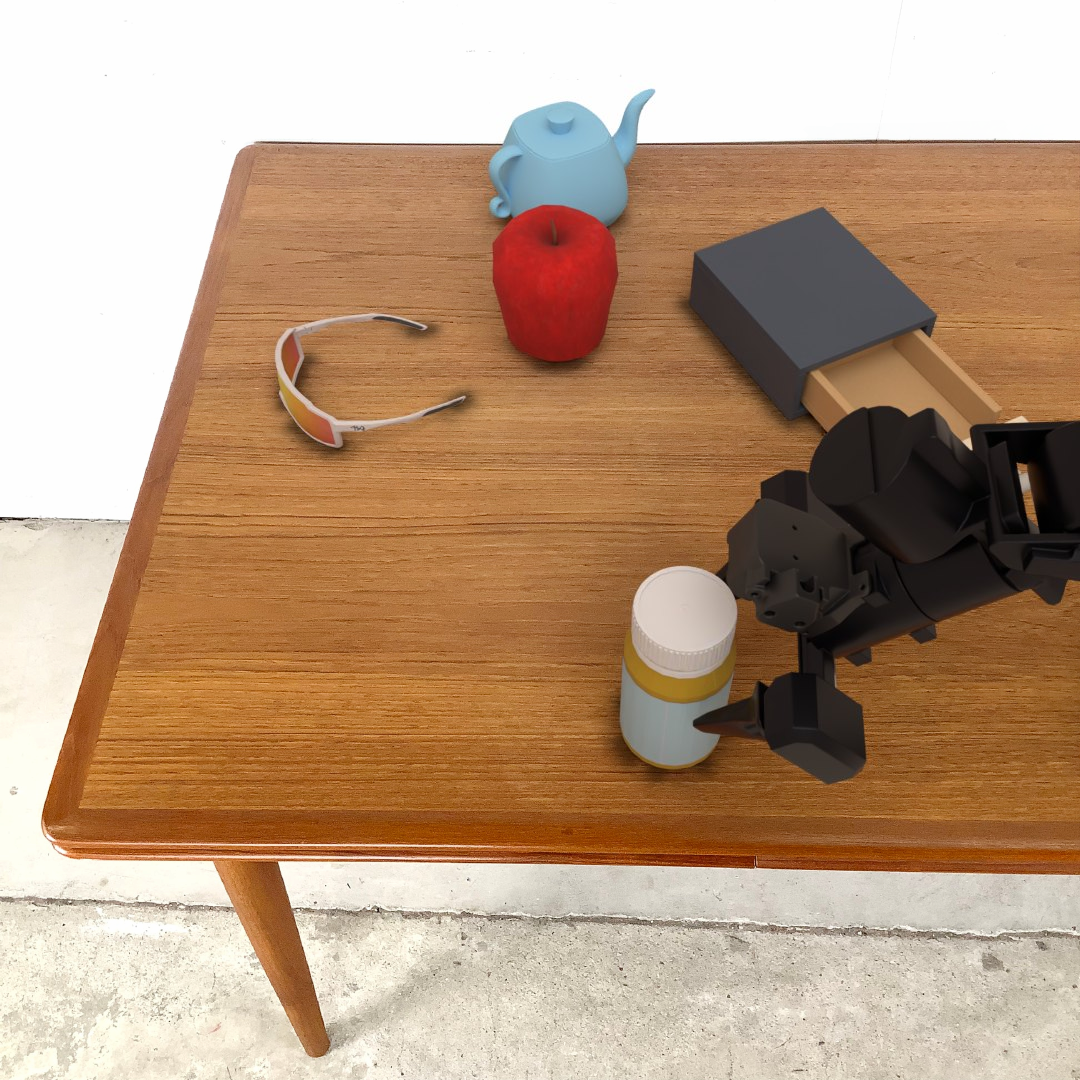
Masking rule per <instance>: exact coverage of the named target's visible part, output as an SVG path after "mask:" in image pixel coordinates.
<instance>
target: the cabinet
mask: <svg viewBox="0 0 1080 1080" xmlns="http://www.w3.org/2000/svg"><path fill="white" fill-rule="evenodd" d="M691 271H692V272H691V281H690V293H689V301H688V305H689V306H690V307H691V308H692V310H693V311H694V312H695V313H696V314H697V316H698V317H699V318H700V319H701V320H702V321H703V322H704V324H705V325H706V326H707V327H708V329H709V330H710V331H711V332H712V333H713V335H715V337H716V338H717V339H718V340H719V341H720V343H721V344H722V345H723V346H724V347H725V349H726V350H728V352H729V353H730V354H731V355H732V356H733V358H734V359H735V360H736V361H737V362H738V364H740V366H741V367H742V369H744V370H745V371H746V373H747V374H748V375H749V376H750V377H751V378H752V380H753V381H754V382H755V383H756V384H757V385H758V387H759V388H760V389H761V390H762V391H763V393H764V394H765V395H766V396H767V397H768V398H769V399H770V401H771V402H772V403H773V404H774V406H775V407H776V408H777V410H779V412H781V414H783V416H784V417H785V418H786V419H787V421H789V422H790V421H793V420H795V419H797V418H801V417H802V416H805V415H807V414H809V413H810V412H809V411H808V410H807V408H806V407H805V406H804V405H803V404H802V403H801V402H800V400H801V396H802V391H803V386H804V382H805V377H806V373H807V372H809V371H812V370H815V369H817V368H820V367H822V366H825V365H827V364H830V363H832V362H835V361H838V360H840V359H843V358H845V357H848V356H850V355H853V354H855V353H858V352H860V351H863V350H866V349H868V348H871V347H873V346H876V345H878V344H881V343H883V342H886V341H888V340H891V339H894V338H896V337H899V336H901V335H904V334H906V333H909V332H911V331H914V330H916V329H919V328H920V329H921V330H922V331H923V332H924V333H925V334H926V335H927V336H928V337H929V338H930V339H931V338H932V334H933V331H934V328H935V325H936V321H937V318H938V314H937V313H936V312H935V311H934V310H933V309H932V308H931V307H929V305H928V304H926V302H924V300H922V299H921V298H920V297H919V296H918V294H916V293H914V291H913V290H911V288H910V287H908V286H907V285H906V284H905V283H904V282H903V281H902V279H900V278H899V277H898V276H897V275H896V274H895V273H894V272H892V270H891V269H889V267H887V265H885V264H884V263H883V262H882V261H881V260H880V259H879V258H878V257H876V255H875V254H874V253H872V252H871V250H869V249H868V247H866V246H865V245H864V244H863V243H862V242H861V241H860V240H859V239H858V238H857V237H855V235H854V234H852V233H851V232H850V231H849V230H848V229H847V228H846V227H845V226H844V225H843V224H842V223H841V222H840V221H839V220H838V219H837V218H835V216H833V214H832V213H830V211H829V210H827V209H826V208H825V207H824V206H821V207H817V208H815V209H812V210H809V211H806V212H803V213H801V214H798V215H794V216H793V217H789V218H787V219H783V220H781V221H778V222H775V223H773V224H772V223H771V224H769V225H767V226H764V227H760V228H758V229H755V230H752V231H749V232H746V233H743V234H741V235H738V236H735V237H733V238H730V239H726V240H724V241H721V242H718V243H716V244H713V245H709V246H707V247H703V248H701V249H698V250H696V251H694V252H693V261H692V270H691ZM810 414H811V413H810Z"/></svg>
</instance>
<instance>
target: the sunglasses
mask: <svg viewBox="0 0 1080 1080" xmlns="http://www.w3.org/2000/svg"><path fill="white" fill-rule="evenodd" d="M369 321H370V322H371V321H380V322H388V323H394V324H399V325H403V326H406V327H410V328H412V329H416V330H419V331H425V330H427V329H428V326H427V325H425V324H423V323H420V322H417V321H414V320H411V319H408V318H404V317H401V316H397V315H391V314H386V313H376V312H372V313H363V314H353V315H344V316H337V317H331V318H324V319H319V320H316V321H315V320H314V321H312V322H308V323H305V324H302V325H301V324H300V325H298V326H293V327H289V328H287V329H286V331H284V332H283V334H282V335H281V336H280V337H279V339H278V340H277V343H276V346H275V351H274V362H275V367H276V374H277V375H276V376H277V381H278V385H279V391H278V393H279V397H280V400H281V401H282V403H283V406H284V407H285V409H286V410H287V412H288V414H289V415H290V417H291V418H292V419H293V421H294V422H295V424H296V425H297V426H298V427H299V428H300V429H301V430H302V431H303V432H304V433H305V434H306V435H307V436H308V437H310V438H311V439H313V440H315V441H316V442H318V443H321V444H323V445H325V446H327V447H331V448H336V449H339V448H341V447H342V446H344V441H343V436H342V433H344V432H357V433H363V432H365V431H369V430H372V429H377V428H382V427H387V426H393V425H399V424H400V425H401V424H408V423H412V422H414V421H417V420H419V419H422V418H425V417H428V416H430V415H435V414H436V413H440V412H442V411H444V410H448V409H450V408H453V407H455V406H457V405H459V404H462V403H463V402H464V401H465V399H466V398H467V396H466V395H463V396H459V397H456V398H454V399H452V400H449V401H446V402H443V403H441V404H438V405H435V406H431V407H429V408H425V409H422V410H419V411H416V412H413V413H411V414H408V415H403V416H399V417H393V418H388V419H377V420H343V419H337V418H336V417H335V416H332V415H330V413H329V414H328V413H327V412H325V411H323V410H321V409H319V408H318V407H317V406H314V404H313V403H312V401H310V399H308V398H307V397H306V396H304V395H303V394H302V393H301V392H300V391H299V390H298V388H297V387H295V385H296V384H295V383H296V380H297V377H298V374H299V371H300V369H301V367H302V364H303V362H304V360H305V354H304V350H303V347H302V345H301V340H300V338H301V337H304V336H306V335H310V334H314V333H317V332H319V331H320V330H322V329H325V328H327V327H330V326H333V325H336V324H342V323H363V322H369Z"/></svg>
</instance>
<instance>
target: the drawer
mask: <svg viewBox="0 0 1080 1080" xmlns="http://www.w3.org/2000/svg"><path fill="white" fill-rule="evenodd" d="M800 402H801V403H802V404H803V405H804V406H805V407H806V408H807V410H808V411H809V412H810V415H811V416H813V418H814V419H815V420H816V421H817V422H818V424H820V426H821V427H823V429H824V430H825V431H826V432H827V433H828V431H829V430H830V429H831V428H832V427H833V426H834V425H835V424H836V423H838V422H839V421H840V420H841V419H842V418H844V417H845V416H847V415H848V414H850V413H851V412H853V411H855V410H857V409H859V408H861V407H866V408H871V407H875V406H892V407H895V408H898V409H900V410H901V411H903V412H904V413H905V414H906V415H907V416H908V417H910V416H912V415H914V414H916V413H918V412H920V411H922V410H924V409H926V408H934V409H935V410H936V411H937V412H938V413H939V414H940V415H941V416H942V417H943V418H944V419H945V420H946V421H947V423H948V425H949V427H950V429H951V431H952V432H953V433H954V434H955V435H956V436H957V437H958V438H959V439H960V440H961V441H962V442H963V443H964V444H965V445H966V446H967V447H968V448H969V449H970V450H972V444H971V438H970V432H969V430H970V427H972V426H973V425H976V424H992V423H998V420H999V419H1000V417H1001V413H1002V411H1003V408H1002V407H1001V405H999V404H998V403H997V402H996V401H995V400H994V399H993V398H992V397H991V396H990V395H989V394H988V393H987V392H986V391H985V390H984V389H983V388H982V387H981V386H980V385H978V384H977V382H975V380H973V378H972V377H971V376H970V375H968V374H967V372H965V371H964V370H963V369H962V368H961V367H960V365H958V364H957V363H956V362H955V361H954V360H953V359H952V358H951V357H950V356H949V355H948V354H947V353H946V352H945V351H943V349H942V348H940V346H938V345H937V344H936V343H935V341H933V340H932V339H931V337H930V338H929V337H928V336H927V335H926V334H925V333H924V332H923V331H922V330H921V329H920V328H919V329H916V330H914V331H911V332H909V333H906V334H904V335H901V336H899V337H896V338H894V339H891V340H888V341H886V342H883V343H881V344H878V345H876V346H873V347H871V348H868V349H866V350H863V351H860V352H858V353H855V354H853V355H850V356H848V357H845V358H843V359H840V360H838V361H835V362H832V363H830V364H827V365H825V366H822V367H820V368H817V369H815V370H812V371H809V372H807V373H806V377H805V382H804V386H803V391H802V396H801V400H800ZM1021 422H1029V420H1028V419H1027V418H1026V417H1024V415H1020V416H1017V417H1014V418H1013V419H1010V420H1007V421H1006V422H1004V423H1021ZM1018 473H1019V478H1020V483H1021V488H1022V493H1023V494H1026V493H1028V492H1031V488H1030V483H1029V478H1028V471H1027V472H1021V470H1019V469H1018Z"/></svg>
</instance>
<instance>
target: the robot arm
mask: <svg viewBox="0 0 1080 1080" xmlns="http://www.w3.org/2000/svg"><path fill="white" fill-rule="evenodd" d="M969 432H970V438H971V444H972V450H970V449H969V448H968V447H967V446H966V445H965V444H964V443H963V442H962V441H961V440H960V439H959V438H958V437H957V436H956V435H955V434H954V433H953V432H952V431H951V429H950V427H949V425H948V423H947V421H946V420H945V419H944V418H943V417H942V416H941V415H940V414H939V413H938V412H937V411H936V410H935V409H934V408H926V409H924V410H922V411H920V412H918V413H916V414H914V415H912V416H910V417H908V416H907V415H906V414H905V413H904V412H903V411H901V410H900V409H898V408H895V407H892V406H875V407H871V408H866V407H861V408H859V409H857V410H855V411H853V412H851V413H850V414H848V415H847V416H845V417H844V418H842V419H841V420H840V421H839V422H838V423H836V424H835V425H834V426H833V427H832V428H831V429H830V430H829V431H828V432H827V433H826V434H825V435H824V436H823V437H822V439H821V440H820V442H819V443H818V445H817V446H816V448H815V450H814V452H813V455H812V458H811V460H810V464H809V469H808V472H807V471H805V470H801V469H784V470H782V471H780V472H778V473H776V474H774V475H772V476H770V477H768V478H766V479H764V480H763V481H761V482H760V498H757V499H756V500H755V502H754V503H753V506H752V507H751V508H750V509H749V510H748V511H747V512H746V513H745V514H744V515H743V516H742V517H741V518H740V519H739V520H738V521H737V522H736V523H735V524H734V525H733V526H732V527H731V528H730V529H729V530H728V531H727V533H726V543H727V545H728V552H727V553H728V561H727V562H725V563H724V565H723V566H722V567H721V568H720V569H719V570H718V571H717V572H716V573H715V574H714V575H715V576H717V577H718V578H720V579H721V580H722V581H723V582H724V583H725V584H726V585H727V586H728V587H729V589H730V590H731V592H732V594H733V596H734V598H735V601H737V600H744V601H746V602H753V605H754V609H755V610H754V611H755V614H754V615H755V618H756V620H757V621H758V622H759V623H761V624H765V625H767V626H771V627H773V628H775V629H779V630H781V631H784V632H788V633H791V634H793V633H796V636H797V662H798V663H797V665H798V671H790V672H786V673H784V674H781V675H779V676H776V677H775V678H774V679H773V680H772V682H771V683H770V684H769V685H767V684H766V683H764V682H762V681H761V680H757V681H756V682H755V685H754V688H753V692H752V694H751V696H749V697H747V698H744V699H740V700H738V701H734V702H732V703H729V704H727V705H726V706H724V707H721V708H718V709H715V710H712V711H710V712H707V713H705V714H703V715H702V716H700V717H698V718H696V719H694V720H693V727H694V728H696V729H697V730H699V731H701V732H704V733H710V734H718V735H720V736H724V737H725V736H726V737H734V738H741V739H747V740H748V739H749V740H756V741H761V742H766V744H767V745H768V747H769V749H770V751H772V752H773V753H775V754H777V755H778V756H779V757H781V758H783V759H784V760H786V761H788V762H789V763H791V764H793V765H794V766H796V767H798V768H800V769H801V770H802V771H804V772H806V773H807V774H809V775H811V776H812V777H814V778H815V779H818V780H819V781H820V782H822V783H823V784H825V785H827V786H830V785H833V784H836V783H841V782H844V781H847V780H851V779H853V778H855V777H856V776H857V775H859V774H860V773H862V771H863V770H864V767H865V765H866V763H867V750H866V738H865V737H866V736H865V735H866V734H865V724H864V723H865V721H864V709H863V705H861V704H860V703H859V702H857V701H856V700H854V699H853V698H852V697H850V696H849V695H847V694H846V693H844V692H843V691H841V690H840V689H839V688H838V682H837V667H836V665H837V664H836V660H839V659H842V658H844V659H845V660H847V661H848V662H849V663H851V664H852V665H853V666H855V667H860V666H863V665H866V664H869V663H871V662H873V656H872V655H873V654H872V648H873V647H876V646H878V645H881V644H884V643H886V642H890V641H892V640H895V639H897V638H900V637H903V636H906V635H908V636H909V637H911V638H912V639H913V640H914V641H916V642H917V643H919V644H920V645H922V644H925V643H928V642H930V641H934V640H936V639H938V636H937V627H936V625H937V624H939V623H941V622H944V621H948V620H949V619H952V618H955V617H958V616H960V615H963V614H966V613H969V612H972V611H974V610H977V609H980V608H983V607H985V606H988V605H990V604H993V603H995V602H998V601H1001V600H1005V599H1007V598H1010V597H1012V596H1015V595H1018V594H1020V593H1023V592H1025V591H1028V590H1031V591H1033V593H1035V595H1037V596H1038V597H1039V598H1040V599H1041V600H1042V601H1044V602H1045V603H1046V604H1047V605H1049V606H1055V605H1058V604H1060V603H1061V602H1062V599H1063V596H1064V594H1065V590H1066V587H1067V583H1068V581H1075V582H1080V419H1079V420H1054V421H1053V420H1051V421H1028V422H1021V423H1005V422H997V423H992V424H976V425H973V426H972V427H970V430H969ZM1018 464H1021V465H1025V466H1026V470H1027V473H1028V478H1029V483H1030V488H1031V490H1030V492H1031V498H1032V502H1033V508H1034V512H1035V518H1036V522H1037V524H1036V523H1035V522H1034V521H1033V520H1031V519H1030V518H1029V517H1028V514H1027V510H1026V505H1025V500H1024V499H1025V498H1024V493H1022V488H1021V483H1020V478H1019V473H1018V470H1019V468H1018Z"/></svg>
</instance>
